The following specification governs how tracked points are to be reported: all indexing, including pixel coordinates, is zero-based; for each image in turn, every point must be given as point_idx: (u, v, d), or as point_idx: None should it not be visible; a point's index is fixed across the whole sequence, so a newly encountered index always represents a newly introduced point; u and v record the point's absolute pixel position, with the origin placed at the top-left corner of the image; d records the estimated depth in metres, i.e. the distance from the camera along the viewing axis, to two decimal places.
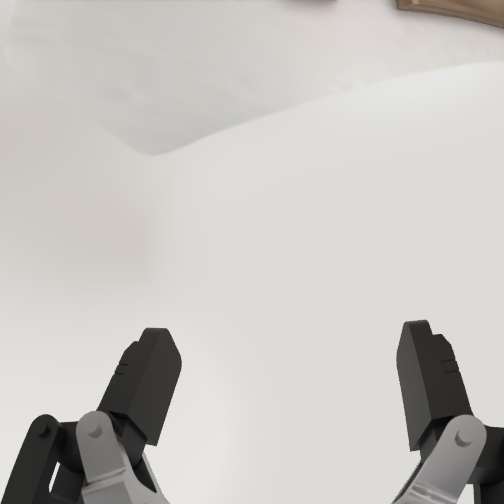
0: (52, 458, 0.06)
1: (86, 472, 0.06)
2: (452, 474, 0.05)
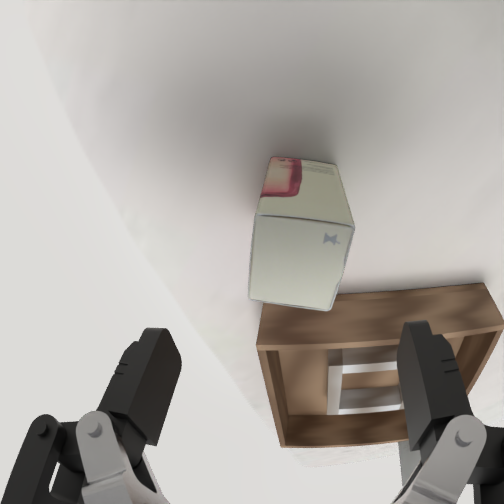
0: (52, 458, 0.06)
1: (86, 472, 0.06)
2: (452, 474, 0.05)
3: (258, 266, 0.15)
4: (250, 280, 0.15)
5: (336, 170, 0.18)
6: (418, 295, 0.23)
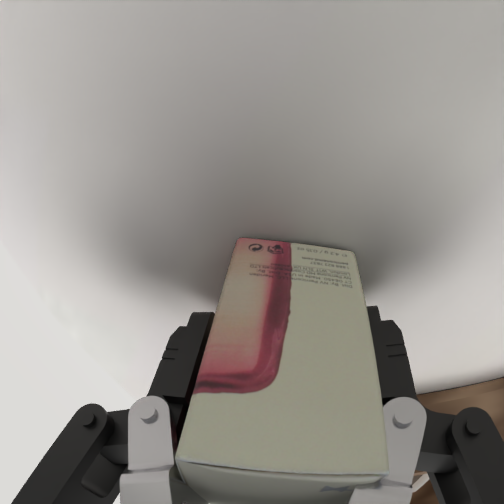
0: (101, 450, 0.07)
1: (129, 458, 0.06)
2: (399, 456, 0.05)
3: (200, 490, 0.06)
4: None
5: (355, 270, 0.10)
6: (446, 401, 0.15)
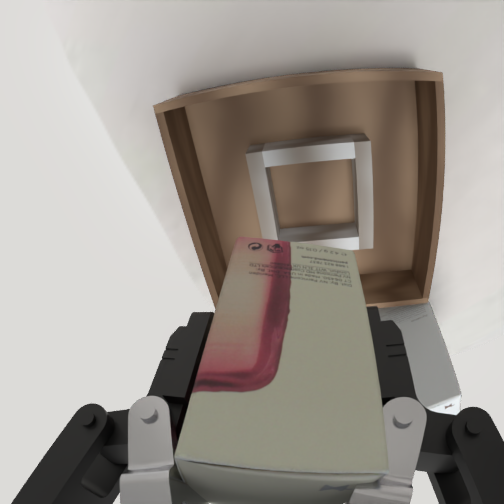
0: (101, 450, 0.07)
1: (129, 458, 0.06)
2: (399, 457, 0.05)
3: (199, 489, 0.06)
4: None
5: (354, 268, 0.10)
6: (336, 70, 0.20)
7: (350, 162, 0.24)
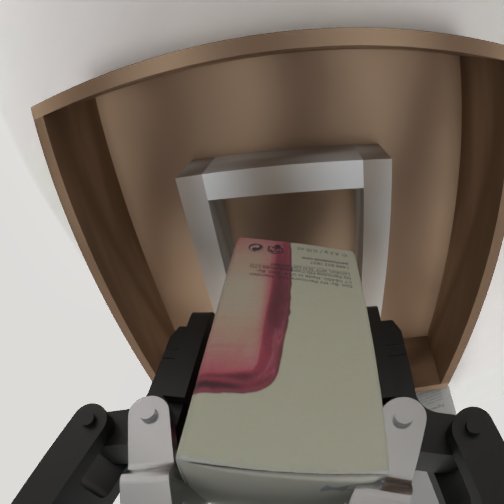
0: (101, 450, 0.07)
1: (129, 458, 0.06)
2: (399, 456, 0.05)
3: (200, 490, 0.06)
4: None
5: (355, 270, 0.10)
6: None
7: (353, 190, 0.15)
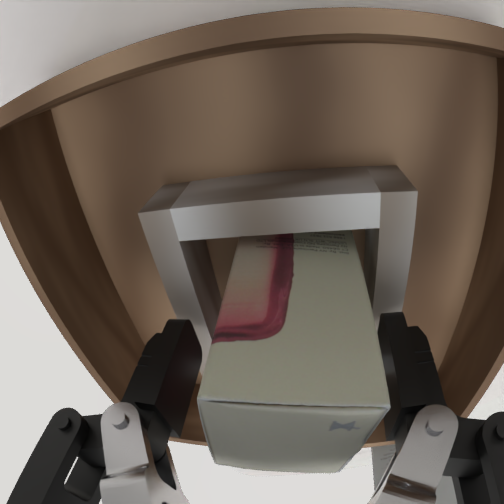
0: (75, 452, 0.07)
1: (107, 464, 0.06)
2: (427, 464, 0.05)
3: (220, 445, 0.08)
4: (212, 452, 0.08)
5: (351, 239, 0.11)
6: None
7: None
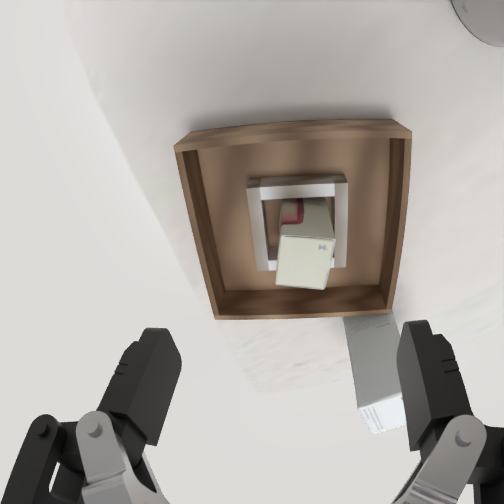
0: (52, 458, 0.06)
1: (86, 472, 0.06)
2: (453, 474, 0.05)
3: (282, 264, 0.26)
4: (277, 273, 0.26)
5: (325, 202, 0.29)
6: (324, 121, 0.26)
7: (330, 196, 0.30)
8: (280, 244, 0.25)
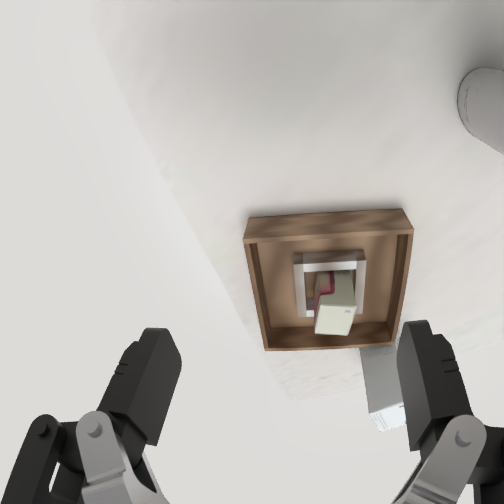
0: (52, 458, 0.06)
1: (86, 473, 0.06)
2: (452, 474, 0.05)
3: (320, 321, 0.36)
4: (316, 326, 0.37)
5: (349, 270, 0.40)
6: (351, 214, 0.37)
7: None
8: (319, 310, 0.35)
